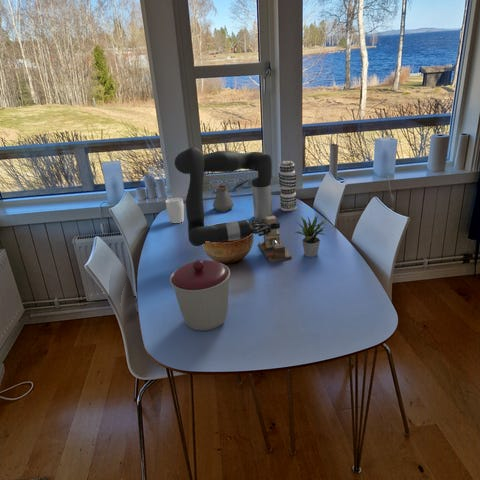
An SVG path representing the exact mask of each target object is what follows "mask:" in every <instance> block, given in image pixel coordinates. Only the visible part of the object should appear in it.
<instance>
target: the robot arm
mask: <svg viewBox="0 0 480 480" xmlns="http://www.w3.org/2000/svg"><path fill="white" fill-rule="evenodd" d="M272 164H273V162H272V157H271V155H270V154H269V153H268V152H261V151H250V152H249V151H248V152H243V153H242V152H237V151H234V150H233V151H231V150H220V151H219V150H218V151H214V152H213V151H212V152H209V153H205V154H203V151H201V150H200V149H199V148H198V147H194V146H193V147H189V148H187V149H185V150H183V151H181V152H179V153H178V154H177V156H175V159H174V166H175V168H176V169H177V171H179V172H180V173H181V174H185V175H189V183H188V190H187V192H186V197H185V213H186V220H187V232H188V233H187V234H188V236H187V237H188V242H189V243H190V244H191V245H192V246H194V247H201V246H202V245H203V244H206V243H205V241H210V243H222V242H229V241H239V240H244V239H243V238H245V237H247V236H249V235H250V234H251V235H258V237H262V236H264V235H265V234H268V233H270V232H271V230H272V229H277V230H278V229H280V228H281V225H280V222H278V220H277V219H276V223H274V224H266V217H269V216H273V200H272V185H271V184H272V182H271V181H272V177H273V176H272V175H273V172H272V170H273V167H272V166H273V165H272ZM240 169H241V170H250V171H255V172H257V177H255V178H252V180H251V190H252V204H253V205H252V206H253V214H254V215H253V217H254V218H252V219H251V221H250V222H249V220H247V219H244V220H243V219H241V220H237V221H236V220H235V221H230V222H227V223H220V224H216V225H205V223H204V222H205V221H204V220H205V210H204V209H205V208H204V200H203V198H204V196H203V194H204V192H203V191H204V190H203V189H204V173H205V172H206V173H232V172H236V171H238V170H240ZM252 233H253V234H252ZM245 239H246V238H245Z"/></svg>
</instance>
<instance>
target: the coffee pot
mask: <svg viewBox="0 0 480 480" xmlns="http://www.w3.org/2000/svg"><path fill="white" fill-rule="evenodd" d="M246 183H249V184H250V180H249V179H246V181H243V182H241V183H239V184H237V185H236V186H234V187H232V188H230V189H228V185H226V184H225V185H224V184H223V185H222V184H221V185H217V186H216V187H215V190H216V194H215V197H214V201H213V204H212V207H213V209H215V210H216V211H217V210H218V211H217V212H219V211H225V212H228V211H227V210H229V209H230V210H231V209H232V208H233V206H234V201H233V200H232V198H231V196H230V194H229V193H230V192H232V191H233V190H235V189H237V188H239V187H241V186H243V185H244V184H246ZM227 189H228V190H227ZM230 210H229V211H230Z"/></svg>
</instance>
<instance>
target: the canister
mask: <svg viewBox="0 0 480 480" xmlns="http://www.w3.org/2000/svg"><path fill="white" fill-rule="evenodd" d="M230 275H231V270H230V268H229V267H228V266H227V265H225V264H223V263H221V262H218V261H214V260H201V259H197V260H195V261H192V262H189V263H185V264H184V265H183V264H182V266H180V267H179V268H177V269H175V270H174V271H173V272H172V273H171V275H170V276H169V284H170V285H171V287H173V289H174V293H175V296H176V299H177V303H178V306H179V309H180V312H181V315H182V318H183V321H184V322H185V324H186V325H187V326H188V327H189V328H190V329H192V330H195V331H201V332H202V331H204V332H205V331H210V330H214V329H216V328H219V326H221V325H222V324H223V323H224V322H225V321H226V319H227V317H228V310H229V308H228V307H229V279H230Z"/></svg>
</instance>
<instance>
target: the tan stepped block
mask: <svg viewBox="0 0 480 480" xmlns="http://www.w3.org/2000/svg"><path fill="white" fill-rule="evenodd" d="M276 220H277V217H276V216H275V215H272V216H269V217H266V220H265V221H266V224H274V223H276ZM270 238H275V240H276V241H277V242H278V243H279V245H280V242H281V240H280V239H281V238H280V232H279V231H278V229H272V230H271V232H270V233H268V234H265V246H266V247H267V248H270V247H273V246H274V245H273V244H272V242H271V241H270Z"/></svg>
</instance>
